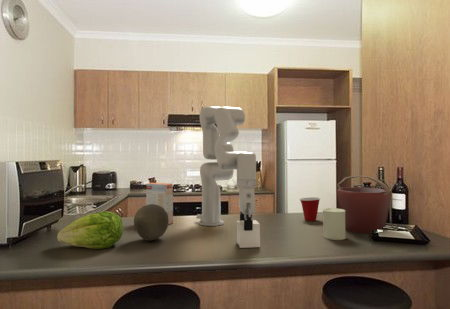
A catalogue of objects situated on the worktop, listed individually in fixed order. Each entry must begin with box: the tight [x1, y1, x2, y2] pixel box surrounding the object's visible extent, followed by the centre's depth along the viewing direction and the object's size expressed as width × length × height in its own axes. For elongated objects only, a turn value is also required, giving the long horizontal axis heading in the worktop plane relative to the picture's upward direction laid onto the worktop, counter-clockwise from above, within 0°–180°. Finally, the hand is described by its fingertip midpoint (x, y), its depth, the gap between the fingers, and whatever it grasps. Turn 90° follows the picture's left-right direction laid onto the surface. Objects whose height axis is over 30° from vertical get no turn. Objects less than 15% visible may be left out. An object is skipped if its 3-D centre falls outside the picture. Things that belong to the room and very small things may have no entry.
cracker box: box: [145, 182, 174, 226], centre depth 159 cm, size 14×6×21 cm, turn 58°
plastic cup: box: [299, 197, 321, 222], centre depth 164 cm, size 11×11×12 cm
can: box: [322, 207, 347, 241], centre depth 130 cm, size 9×9×12 cm
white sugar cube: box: [236, 219, 261, 249], centre depth 120 cm, size 8×8×9 cm
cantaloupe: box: [133, 204, 169, 241], centre depth 127 cm, size 14×14×15 cm
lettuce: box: [56, 210, 124, 250], centre depth 119 cm, size 14×24×15 cm
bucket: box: [336, 175, 392, 235], centre depth 143 cm, size 24×22×25 cm
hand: (245, 226), depth 120 cm, fingers open, 9 cm apart
